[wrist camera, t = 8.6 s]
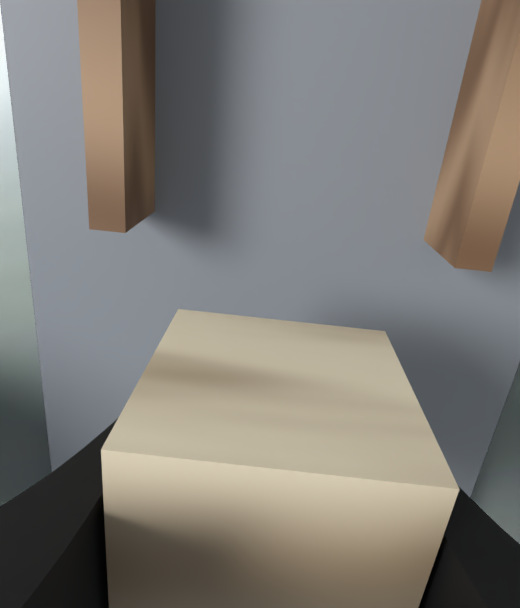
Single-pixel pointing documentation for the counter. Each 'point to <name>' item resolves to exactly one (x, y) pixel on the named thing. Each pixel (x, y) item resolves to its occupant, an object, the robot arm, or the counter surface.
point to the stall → (455, 166)
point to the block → (272, 472)
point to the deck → (264, 202)
